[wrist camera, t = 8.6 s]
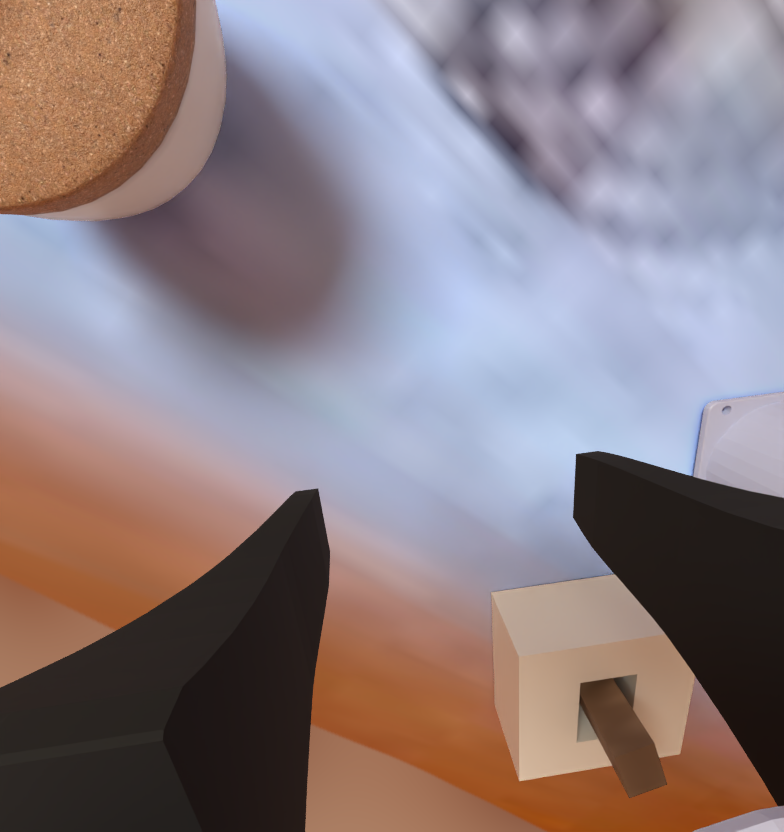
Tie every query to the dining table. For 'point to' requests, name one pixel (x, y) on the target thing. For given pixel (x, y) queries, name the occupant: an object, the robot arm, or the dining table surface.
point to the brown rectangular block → (622, 736)
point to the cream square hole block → (580, 672)
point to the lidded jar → (106, 104)
